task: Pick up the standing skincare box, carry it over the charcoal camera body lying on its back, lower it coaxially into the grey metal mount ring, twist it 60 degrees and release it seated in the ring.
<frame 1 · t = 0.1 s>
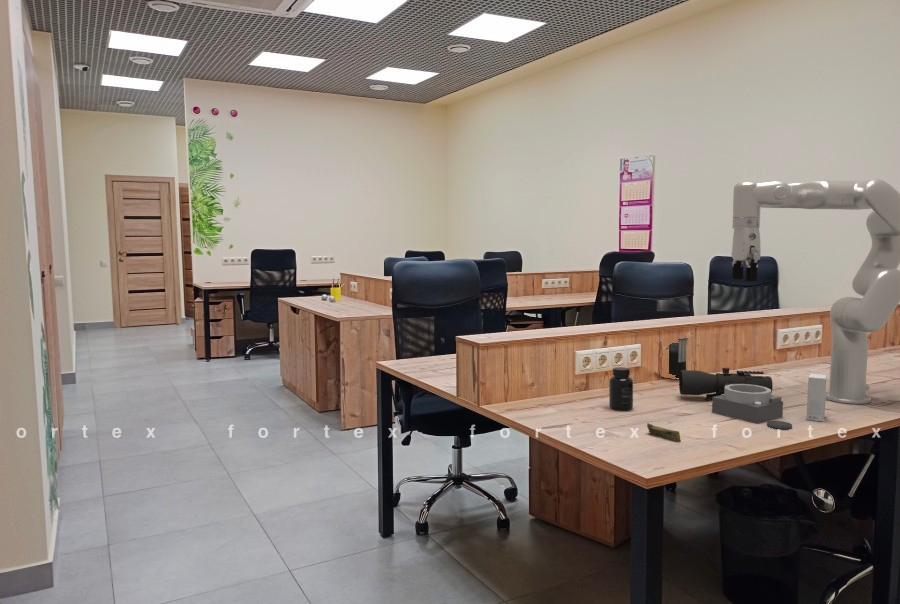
hand: (744, 280, 200), 37 cm above the table, tool pointing down, fingers open, 9 cm apart
snack bar: (662, 439, 165), on the table
supplement bottle: (620, 409, 194), on the table
rifle scope: (724, 400, 203), on the table
skincare box: (815, 419, 182), on the table
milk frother: (684, 379, 234), on the table
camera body: (746, 414, 186), on the table
lens cap: (779, 428, 174), on the table
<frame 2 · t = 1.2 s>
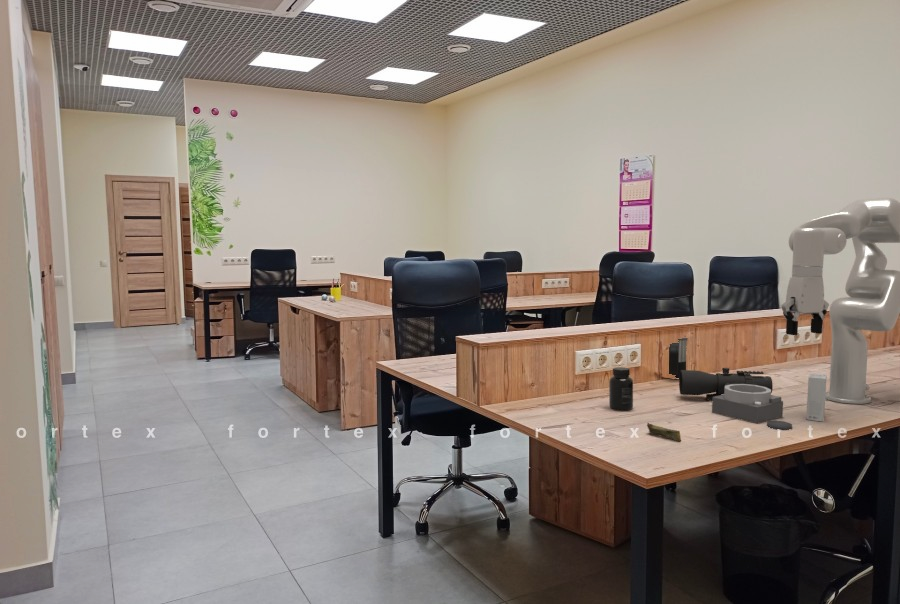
hand: (804, 333, 183), 23 cm above the table, tool pointing down, fingers open, 9 cm apart
nothing on the table moved.
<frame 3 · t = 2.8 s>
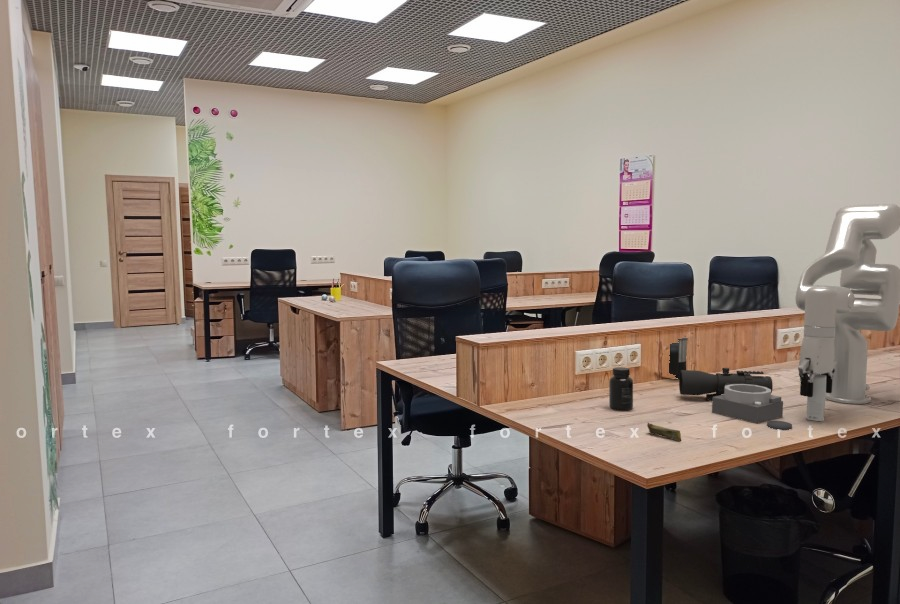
hand: (815, 394, 180), 7 cm above the table, tool pointing down, fingers open, 9 cm apart
nothing on the table moved.
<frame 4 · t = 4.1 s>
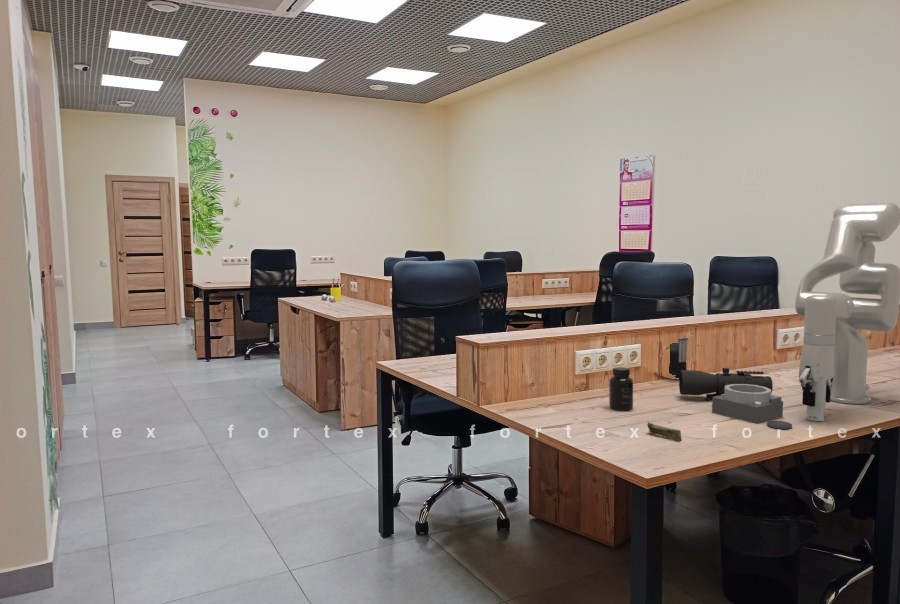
hand: (816, 403, 181), 4 cm above the table, tool pointing down, fingers closed on skincare box, 7 cm apart
skincare box: (815, 419, 182), on the table, touching gripper
everything else where it was.
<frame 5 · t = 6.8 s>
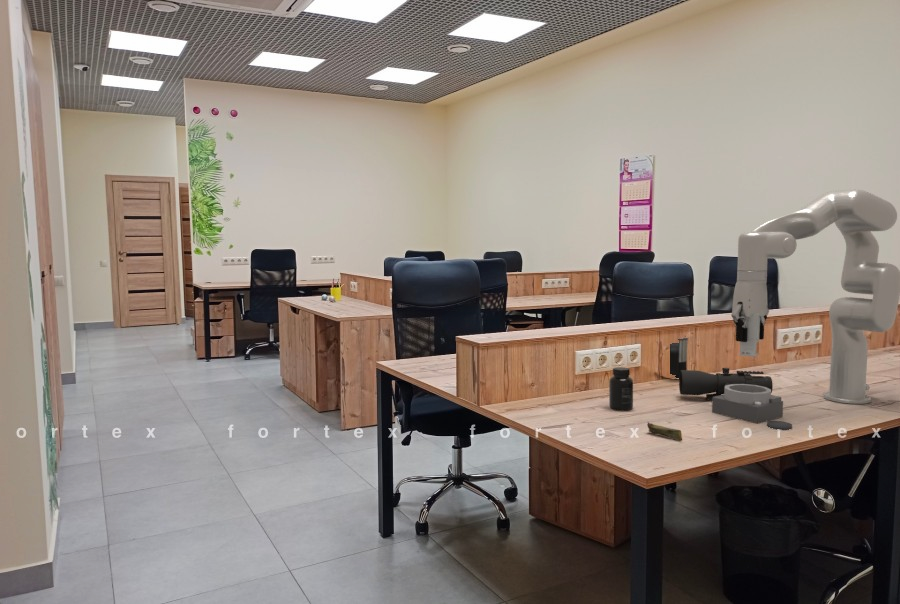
hand: (749, 339, 184), 21 cm above the table, tool pointing down, fingers closed on skincare box, 7 cm apart
skincare box: (749, 355, 184), point 17 cm above the table, touching gripper
everything else where it was.
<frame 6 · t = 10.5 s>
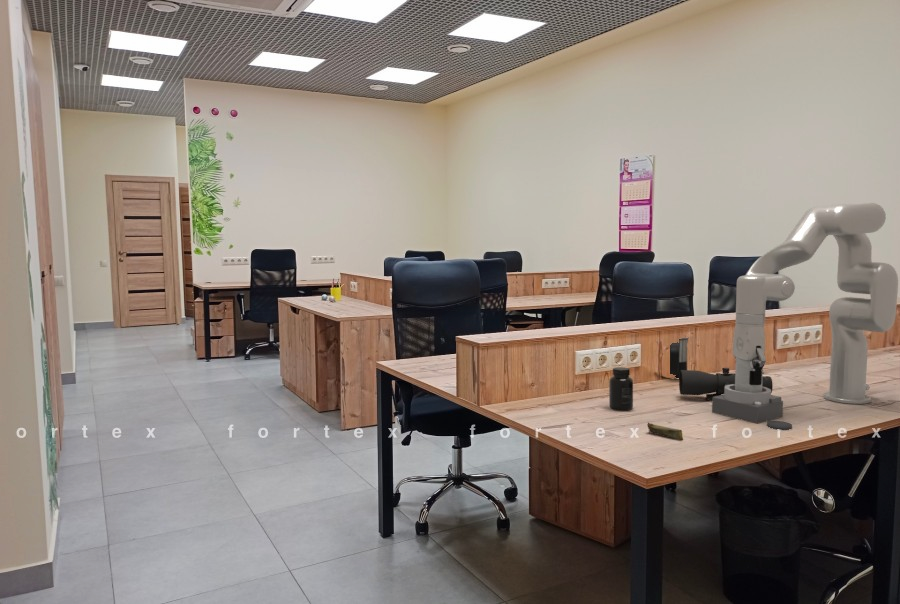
hand: (748, 381, 185), 10 cm above the table, tool pointing down, fingers closed on skincare box, 7 cm apart
skincare box: (748, 396, 186), point 5 cm above the table, touching gripper
when the fingers open (10 cm above the table, at t = 10.6 s): skincare box stays where it is, resting on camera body.
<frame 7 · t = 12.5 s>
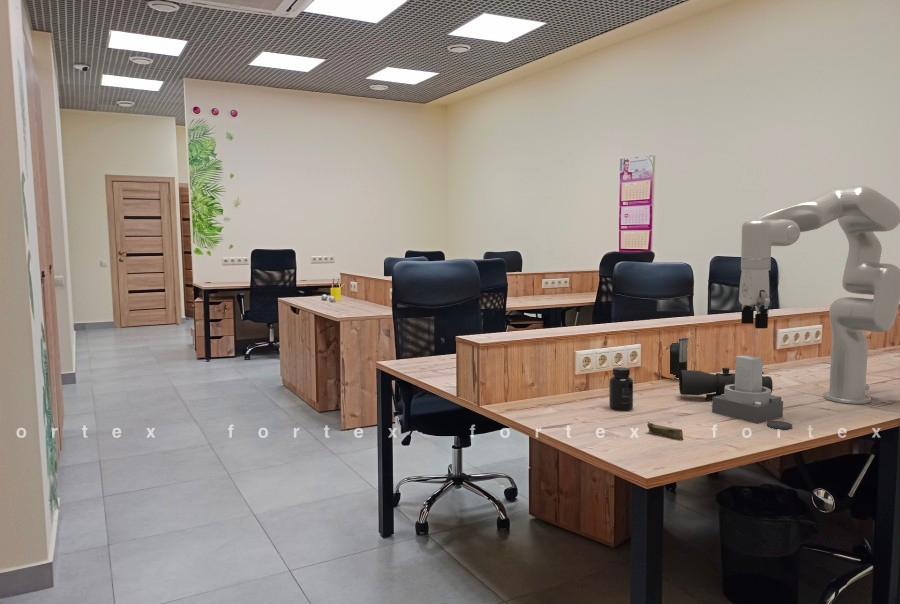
hand: (754, 325, 184), 25 cm above the table, tool pointing down, fingers open, 9 cm apart
skincare box: (747, 399, 186), point 4 cm above the table, touching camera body
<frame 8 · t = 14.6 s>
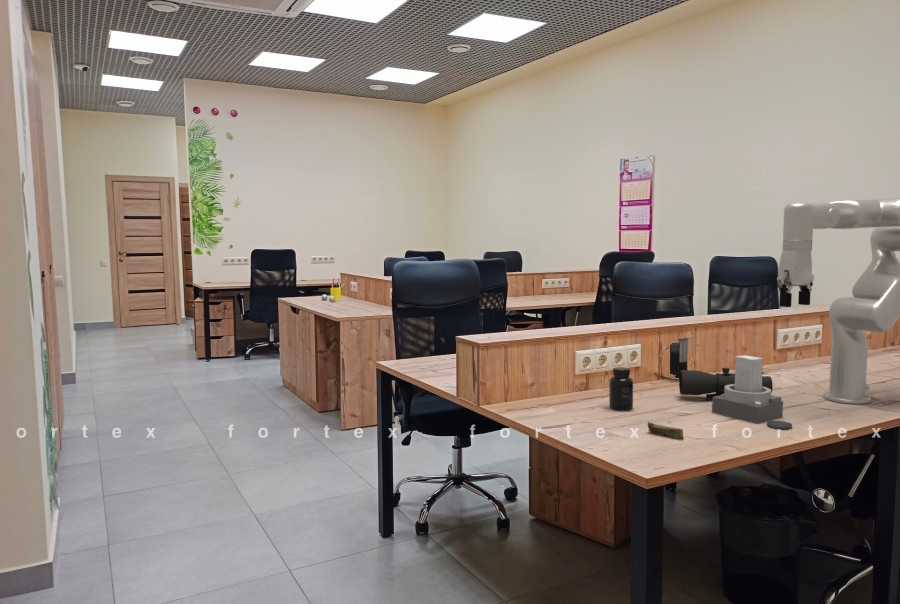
hand: (794, 305, 190), 30 cm above the table, tool pointing down, fingers open, 9 cm apart
at the end: skincare box 0.4 cm off-centre on the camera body, point 4.3 cm above the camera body's base; skincare box tilted 0°; the gripper is holding nothing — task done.
